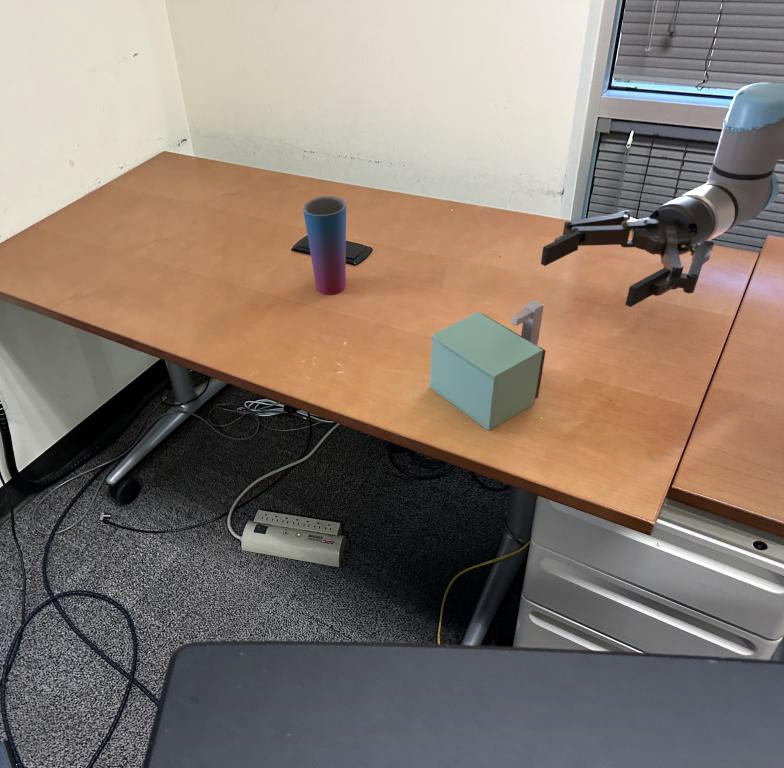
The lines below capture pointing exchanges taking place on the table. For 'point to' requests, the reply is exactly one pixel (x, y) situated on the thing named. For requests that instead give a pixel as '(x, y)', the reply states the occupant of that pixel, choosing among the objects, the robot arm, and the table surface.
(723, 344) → the table surface
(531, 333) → the dark grey drawer
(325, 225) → the cup
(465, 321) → the box
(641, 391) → the table surface
